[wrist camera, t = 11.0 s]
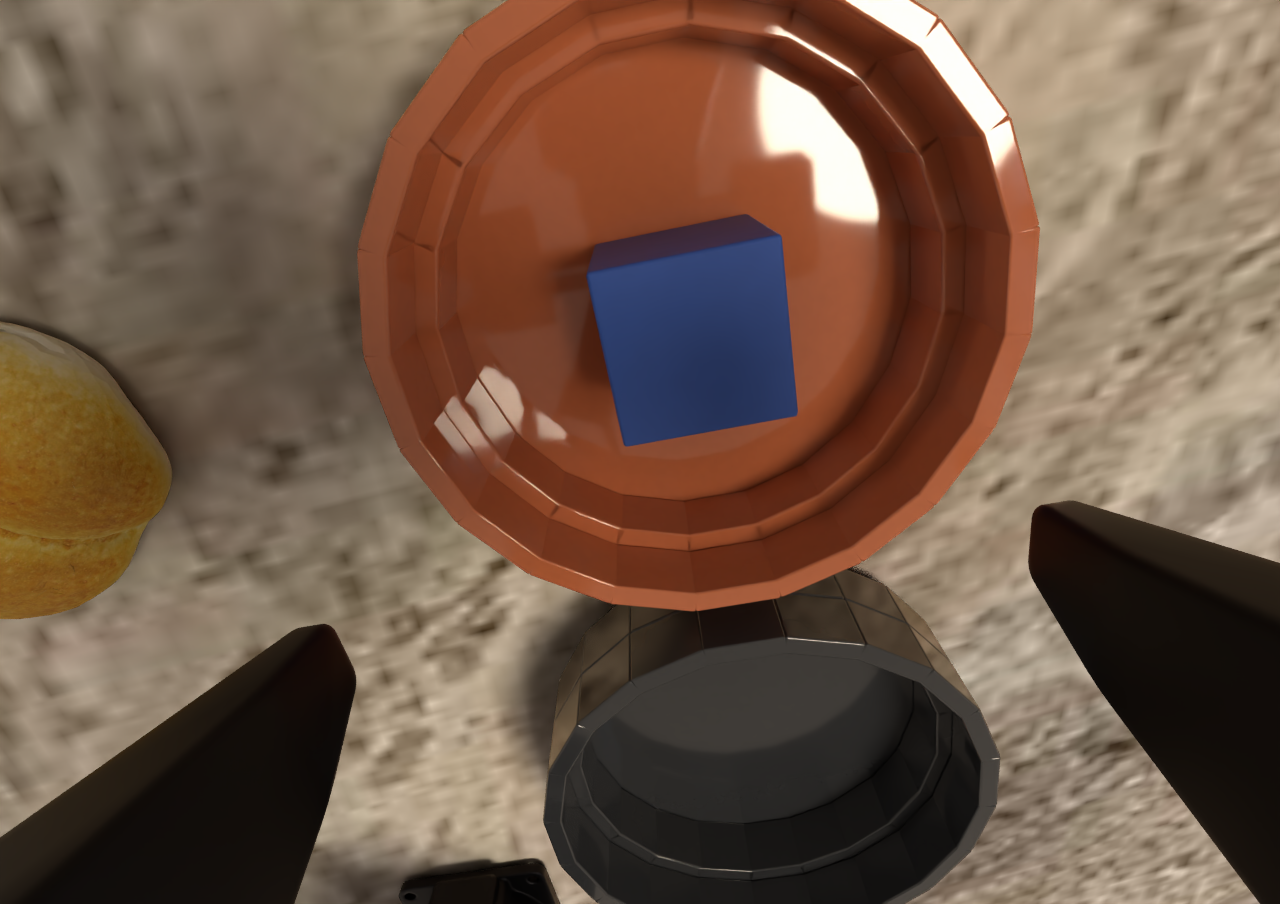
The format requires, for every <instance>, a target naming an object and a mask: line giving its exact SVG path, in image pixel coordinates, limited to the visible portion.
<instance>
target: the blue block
mask: <svg viewBox="0 0 1280 904" xmlns="http://www.w3.org/2000/svg"><path fill="white" fill-rule="evenodd" d="M586 278H587V283H588V287H589V292H590V296H591V301H592V305H593V310H594V314H595V319H596V323H597V328H598V332H599V337H600V341H601V346H602V350H603V355H604V359H605V364H606V368H607V373H608V377H609V382H610V386H611V391H612V395H613V399H614V404H615V408H616V413H617V417H618V422H619V426H620V431H621V435H622V440H623V444H624V445H625V446H627V447H628V446H634V445H639V444H645V443H650V442H656V441H661V440H667V439H673V438H678V437H684V436H689V435H695V434H700V433H706V432H711V431H717V430H722V429H728V428H733V427H739V426H744V425H750V424H756V423H761V422H767V421H772V420H778V419H783V418H789V417H794V416H797V414H798V407H797V396H796V385H795V374H794V363H793V353H792V342H791V331H790V320H789V309H788V298H787V287H786V276H785V266H784V255H783V244H782V237H781V235H780V234H778V233H777V232H775V231H774V230H772V229H770V228H769V227H767V226H766V225H764V224H762V223H761V222H759V221H758V220H756V219H754V218H753V217H751V216H750V215H748V214H743V215H738V216H733V217H728V218H723V219H718V220H713V221H708V222H703V223H698V224H693V225H688V226H683V227H678V228H674V229H669V230H664V231H659V232H654V233H649V234H644V235H639V236H634V237H629V238H624V239H619V240H614V241H609V242H604V243H599V244H596V245H595V247H594V250H593V254H592V257H591V260H590V264H589V267H588V271H587V275H586Z"/></svg>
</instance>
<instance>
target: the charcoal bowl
mask: <svg viewBox="0 0 1280 904" xmlns="http://www.w3.org/2000/svg"><path fill="white" fill-rule="evenodd" d="M999 769H1000V754H999V751H998V749H997V747H996V744H995V742H994V740H993V738H992V735H991V733H990V731H989V729H988V726H987V724H986V722H985V719H984V717H983V715H982V713H981V710H980V708H979V707H978V705H977V704H976V702H975V700H974V699H973V697H972V696H971V694H970V692H969V691H968V689H967V687H966V686H965V684H964V683H963V681H962V679H961V678H960V676H959V675H958V673H957V671H956V670H955V668H954V666H953V665H952V664H951V662H950V660H949V658H948V657H947V655H946V654H945V652H944V650H943V649H942V647H941V646H940V644H939V642H938V641H937V639H936V637H935V636H934V634H933V633H932V631H931V629H930V628H929V626H928V625H927V623H926V622H925V620H924V619H923V618H921V617H920V616H919V615H918V614H917V613H916V612H915V611H914V610H913V609H911V608H910V607H909V606H908V605H907V604H906V603H905V602H904V601H903V600H901V599H900V598H899V597H898V596H897V595H896V594H895V593H894V592H893V591H891V590H890V589H889V588H888V587H887V586H885V585H884V584H882V583H879V582H877V581H874V580H872V579H869V578H867V577H864V576H862V575H860V574H857V573H855V572H852V571H850V570H847V569H846V570H844V571H841V572H839V573H837V574H834V575H832V576H830V577H827V578H825V579H823V580H820V581H818V582H816V583H813V584H811V585H809V586H807V587H804V588H802V589H800V590H797V591H795V592H793V593H790V594H788V595H786V596H783V597H782V596H780V598H776V599H770V600H763V601H757V602H751V603H745V604H739V605H732V606H726V607H720V608H714V609H708V610H701V611H696V610H695V611H683V610H672V609H661V608H650V607H639V606H628V605H616V606H615V607H614V608H612V609H611V610H610V611H609V612H608V613H607V614H606V615H604V616H603V617H602V618H601V619H600V620H599V621H598V622H596V623H595V624H594V625H593V626H592V627H591V628H590V629H588V630H587V631H586V632H585V634H584V635H583V637H582V639H581V641H580V642H579V644H578V646H577V648H576V650H575V651H574V653H573V655H572V657H571V659H570V661H569V662H568V664H567V666H566V668H565V670H564V671H563V673H562V675H561V677H560V680H559V685H558V693H557V701H556V709H555V717H554V725H553V733H552V741H551V749H550V757H549V765H548V774H547V784H546V794H545V804H544V815H543V821H544V825H545V828H546V830H547V833H548V835H549V838H550V840H551V843H552V846H553V848H554V851H555V853H556V856H557V859H558V861H559V864H560V865H561V867H562V868H563V869H564V870H565V871H566V872H567V873H568V874H569V875H570V876H571V877H572V878H573V879H574V880H575V881H576V882H577V883H578V884H579V885H580V886H581V888H582V889H583V890H584V891H585V892H586V893H587V894H588V895H589V896H590V897H591V898H592V899H593V900H595V901H596V902H597V903H599V904H905V903H907V902H909V901H911V900H912V899H914V898H916V897H918V896H920V895H921V894H923V893H925V892H927V891H929V890H930V889H931V888H933V887H934V886H935V885H936V884H937V883H938V882H939V881H940V880H941V879H942V878H944V877H945V876H946V875H947V874H948V873H949V872H950V871H951V870H952V869H953V868H954V867H955V866H956V865H957V864H958V863H960V862H961V861H962V860H963V859H964V858H965V857H966V856H967V855H968V854H969V853H970V852H971V850H972V849H973V848H974V846H975V845H976V843H977V841H978V839H979V837H980V835H981V834H982V832H983V830H984V828H985V826H986V824H987V823H988V821H989V819H990V817H991V815H992V813H993V811H994V810H995V808H996V804H997V796H998V782H999Z"/></svg>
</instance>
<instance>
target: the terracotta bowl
mask: <svg viewBox="0 0 1280 904" xmlns="http://www.w3.org/2000/svg"><path fill="white" fill-rule="evenodd" d="M1008 115H1009V113H1008V111H1007V110H1006V108H1005V107H1004V106H1003V104H1002V103H1001V101H1000V100H999V99H998V97H997V96H996V94H995V93H994V92H993V90H992V89H991V87H990V86H989V85H988V83H987V82H986V80H985V79H984V78H983V76H982V75H981V73H980V72H979V71H978V69H977V68H976V66H975V65H974V64H973V62H972V61H971V59H970V58H969V57H968V55H967V54H966V52H965V51H964V50H963V48H962V47H961V45H960V44H959V43H958V41H957V40H956V38H955V37H954V36H953V34H952V33H951V31H950V30H949V29H948V27H947V26H946V25H945V23H944V22H943V20H942V19H940V18H939V19H938V15H937V14H936V13H934V12H932V11H931V10H929V9H928V8H926V7H924V6H923V5H921V4H920V3H918V2H916V1H915V0H507V1H505V2H504V3H502V4H501V5H499V6H498V7H496V8H495V9H493V10H492V11H491V12H489V13H488V14H486V15H485V16H483V17H482V18H480V19H479V20H477V21H476V22H474V23H473V24H472V25H470V26H469V27H467V28H466V29H464V31H463V34H460V35H458V37H457V38H456V40H455V41H454V42H453V44H452V45H451V47H450V48H449V49H448V51H447V52H446V54H445V55H444V57H443V58H442V59H441V61H440V62H439V64H438V65H437V67H436V68H435V69H434V71H433V72H432V74H431V75H430V76H429V78H428V79H427V81H426V82H425V84H424V85H423V86H422V88H421V89H420V91H419V92H418V94H417V95H416V96H415V98H414V99H413V101H412V102H411V103H410V105H409V106H408V108H407V109H406V111H405V112H404V113H403V115H402V116H401V118H400V119H399V121H398V122H397V123H396V125H395V126H394V128H393V129H392V130H391V132H390V136H391V137H388V139H387V142H386V145H385V149H384V152H383V156H382V160H381V163H380V167H379V170H378V174H377V178H376V181H375V185H374V188H373V192H372V196H371V199H370V203H369V206H368V210H367V214H366V217H365V221H364V224H363V228H362V231H361V235H360V239H359V242H358V248H359V249H358V251H357V259H358V277H359V294H360V312H361V330H362V348H363V355H364V360H365V363H366V365H367V368H368V371H369V373H370V376H371V378H372V381H373V384H374V386H375V389H376V391H377V394H378V396H379V399H380V402H381V404H382V407H383V409H384V412H385V414H386V417H387V420H388V422H389V425H390V427H391V430H392V433H393V435H394V438H395V440H396V443H397V445H398V447H399V448H400V452H401V453H402V454H403V456H404V457H405V458H406V459H407V461H408V462H409V463H410V465H411V466H412V467H413V468H414V470H415V471H416V472H417V473H418V475H419V476H420V477H421V478H422V480H423V481H424V482H425V484H426V485H427V486H428V487H429V489H430V490H431V491H432V492H433V494H434V495H435V496H436V497H437V499H438V500H439V501H440V502H441V504H442V505H443V506H444V508H445V509H446V510H447V511H448V513H449V514H450V515H451V516H452V518H453V519H454V520H455V521H456V522H457V523H458V524H459V525H460V526H462V527H463V528H464V529H466V530H467V531H469V532H470V533H471V534H473V535H474V536H476V537H477V538H478V539H480V540H481V541H483V542H484V543H485V544H487V545H488V546H490V547H491V548H492V549H494V550H495V551H497V552H498V553H500V554H501V555H502V556H504V557H505V558H507V559H508V560H509V561H511V562H512V563H514V564H515V565H516V566H518V567H519V568H521V569H522V570H523V571H525V572H526V573H528V574H529V573H530V575H532V576H535V577H538V578H541V579H543V580H546V581H549V582H552V583H554V584H557V585H560V586H563V587H565V588H568V589H571V590H574V591H576V592H579V593H582V594H585V595H587V596H590V597H593V598H596V599H598V600H601V601H604V602H607V603H610V602H611V604H617V605H628V606H639V607H650V608H661V609H672V610H683V611H695V610H696V611H701V610H708V609H714V608H720V607H726V606H732V605H739V604H745V603H751V602H757V601H763V600H770V599H776V598H780V596H782V597H783V596H786V595H788V594H790V593H793V592H795V591H797V590H800V589H802V588H804V587H807V586H809V585H811V584H813V583H816V582H818V581H820V580H823V579H825V578H827V577H830V576H832V575H834V574H837V573H839V572H841V571H844V570H846V569H848V568H851V567H853V566H855V565H857V564H860V563H861V561H865V560H866V559H867V558H869V557H870V556H871V555H873V554H874V553H875V552H876V551H878V550H879V549H880V548H882V547H883V546H884V545H886V544H887V543H888V542H889V541H891V540H892V539H893V538H895V537H896V536H897V535H898V534H900V533H901V532H902V531H904V530H905V529H906V528H908V527H909V526H910V525H911V524H913V523H914V522H915V521H917V520H918V519H919V518H920V517H922V516H923V515H924V514H926V513H927V512H928V511H929V510H931V509H932V508H933V507H934V505H936V504H937V503H938V502H939V501H940V499H941V498H942V497H943V495H944V494H945V493H946V492H947V490H948V489H949V488H950V486H951V485H952V484H953V482H954V481H955V480H956V478H957V477H958V476H959V475H960V473H961V472H962V471H963V469H964V468H965V467H966V465H967V464H968V463H969V461H970V460H971V459H972V458H973V456H974V455H975V454H976V452H977V451H978V450H979V448H980V447H981V446H982V444H983V443H984V442H985V440H986V439H987V438H988V437H989V435H990V434H991V433H992V431H993V428H995V427H996V424H997V422H998V419H999V417H1000V414H1001V412H1002V409H1003V406H1004V404H1005V401H1006V399H1007V396H1008V394H1009V391H1010V389H1011V386H1012V384H1013V381H1014V379H1015V376H1016V374H1017V371H1018V368H1019V366H1020V363H1021V361H1022V358H1023V356H1024V353H1025V351H1026V348H1027V346H1028V343H1029V341H1030V338H1031V334H1030V333H1032V327H1033V314H1034V300H1035V287H1036V273H1037V260H1038V246H1039V233H1040V228H1039V226H1038V225H1039V222H1038V218H1037V214H1036V210H1035V207H1034V203H1033V199H1032V195H1031V191H1030V188H1029V184H1028V180H1027V176H1026V173H1025V169H1024V165H1023V161H1022V157H1021V154H1020V150H1019V146H1018V142H1017V138H1016V135H1015V131H1014V127H1013V123H1012V119H1011V118H1010V117H1009V116H1008ZM743 214H748V215H750V216H751V217H753V218H754V219H756V220H758V221H759V222H761V223H762V224H764V225H766V226H767V227H769V228H770V229H772V230H774V231H775V232H777V233H778V234H780V235H781V237H782V244H783V255H784V266H785V276H786V287H787V298H788V309H789V320H790V331H791V342H792V353H793V363H794V374H795V385H796V396H797V407H798V414H797V416H794V417H789V418H783V419H778V420H772V421H767V422H761V423H756V424H750V425H744V426H739V427H733V428H728V429H722V430H717V431H711V432H706V433H700V434H695V435H689V436H684V437H678V438H673V439H667V440H661V441H656V442H650V443H645V444H639V445H634V446H628V447H627V446H625V445H624V444H623V440H622V435H621V431H620V426H619V422H618V417H617V413H616V408H615V404H614V399H613V395H612V391H611V386H610V382H609V377H608V373H607V368H606V364H605V359H604V355H603V350H602V346H601V341H600V337H599V332H598V328H597V323H596V319H595V314H594V310H593V305H592V301H591V296H590V292H589V287H588V283H587V278H586V275H587V271H588V267H589V264H590V260H591V257H592V254H593V250H594V247H595V245H596V244H599V243H604V242H609V241H614V240H619V239H624V238H629V237H634V236H639V235H644V234H649V233H654V232H659V231H664V230H669V229H674V228H678V227H683V226H688V225H693V224H698V223H703V222H708V221H713V220H718V219H723V218H728V217H733V216H738V215H743Z"/></svg>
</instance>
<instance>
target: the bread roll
mask: <svg viewBox="0 0 1280 904" xmlns="http://www.w3.org/2000/svg"><path fill="white" fill-rule="evenodd" d="M171 481H172V468H171V465H170V461H169V459H168V456H167V454H166V452H165V450H164V449H163V447H162V446H161V444H160V443H159V441H158V439H157V438H156V436H155V435H154V433H153V432H152V431H151V429H150V428H149V427H148V425H147V424H146V422H145V420H144V419H143V418H142V416H141V415H140V414H139V413H138V411H137V410H136V409H135V407H134V406H133V405H132V404H131V402H130V401H129V400H128V398H127V397H126V395H125V394H124V392H123V391H122V390H121V388H120V387H119V385H118V384H117V382H116V381H115V380H114V379H113V377H112V376H111V375H110V374H109V373H108V371H107V370H106V369H105V368H104V367H103V366H102V365H101V364H100V363H98V362H97V361H96V360H94V359H93V358H91V357H90V356H88V355H87V354H85V353H84V352H82V351H80V350H78V349H77V348H75V347H73V346H72V345H70V344H69V343H66V342H64V341H62V340H59V339H57V338H54V337H52V336H49V335H46V334H43V333H41V332H38V331H36V330H33V329H31V328H27V327H24V326H20V325H16V324H11V323H5V322H0V619H23V618H31V617H39V616H45V615H52V614H56V613H60V612H63V611H67V610H70V609H73V608H76V607H78V606H80V605H81V604H83V603H85V602H87V601H88V600H90V599H92V598H94V597H95V596H97V595H98V594H100V593H101V592H103V591H104V590H106V589H107V588H108V587H110V586H111V585H112V584H113V583H114V582H116V581H117V580H118V579H119V578H120V576H121V575H122V574H123V572H124V571H125V570H126V568H127V567H128V566H129V564H130V562H131V559H132V557H133V555H134V553H135V550H136V548H137V546H138V543H139V540H140V537H141V534H142V532H143V531H144V529H145V527H146V525H147V524H148V522H149V521H150V520H151V519H152V518H153V517H154V516H155V515H156V514H157V513H158V512H159V511H160V510H161V508H162V507H163V505H164V503H165V500H166V498H167V496H168V493H169V490H170V487H171Z"/></svg>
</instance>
